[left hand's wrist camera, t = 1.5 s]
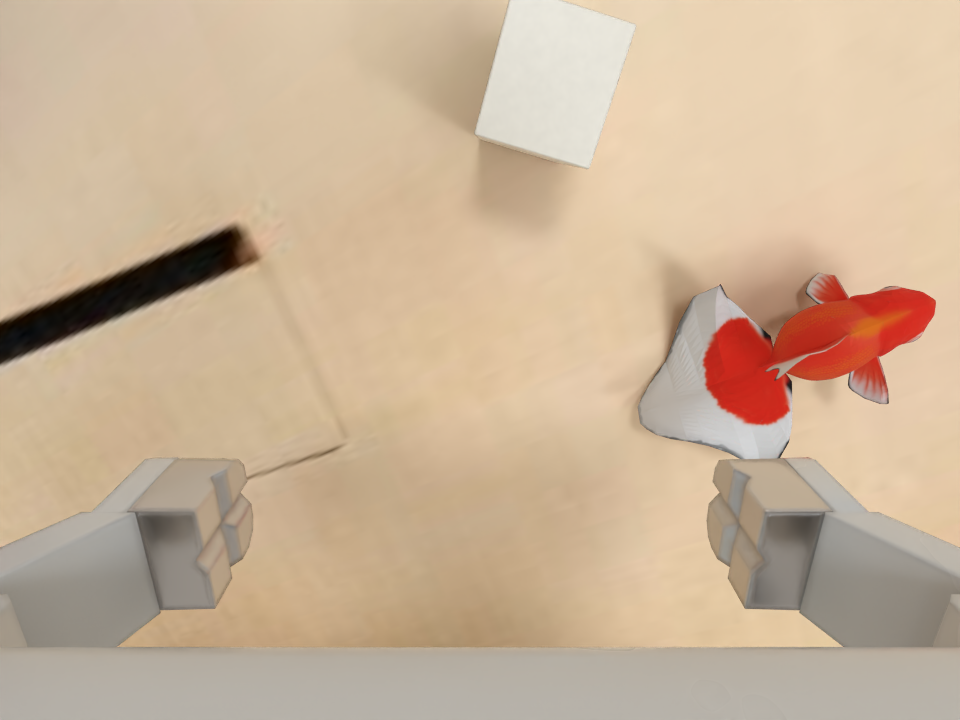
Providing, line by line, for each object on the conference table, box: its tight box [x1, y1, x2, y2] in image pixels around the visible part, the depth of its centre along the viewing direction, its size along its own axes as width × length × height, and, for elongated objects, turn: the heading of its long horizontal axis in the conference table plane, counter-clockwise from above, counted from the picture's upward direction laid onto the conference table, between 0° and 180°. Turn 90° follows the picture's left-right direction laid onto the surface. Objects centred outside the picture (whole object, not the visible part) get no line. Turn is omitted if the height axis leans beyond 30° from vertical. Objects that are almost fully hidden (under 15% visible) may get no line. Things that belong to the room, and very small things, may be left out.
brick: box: [474, 0, 636, 169], centre depth 28 cm, size 5×5×11 cm
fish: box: [638, 273, 936, 459], centre depth 34 cm, size 11×16×10 cm
